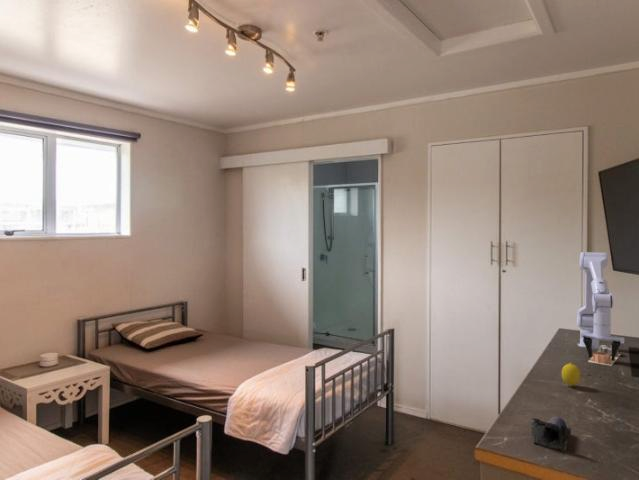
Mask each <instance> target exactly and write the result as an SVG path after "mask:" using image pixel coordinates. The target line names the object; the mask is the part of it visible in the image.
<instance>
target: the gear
mask: <svg viewBox="0 0 639 480" xmlns="http://www.w3.org/2000/svg"><path fill="white" fill-rule="evenodd" d="M592 357H593V361H596V362H599V363H610V354H607V353H603V352H598V351H593V352H592Z"/></svg>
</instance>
